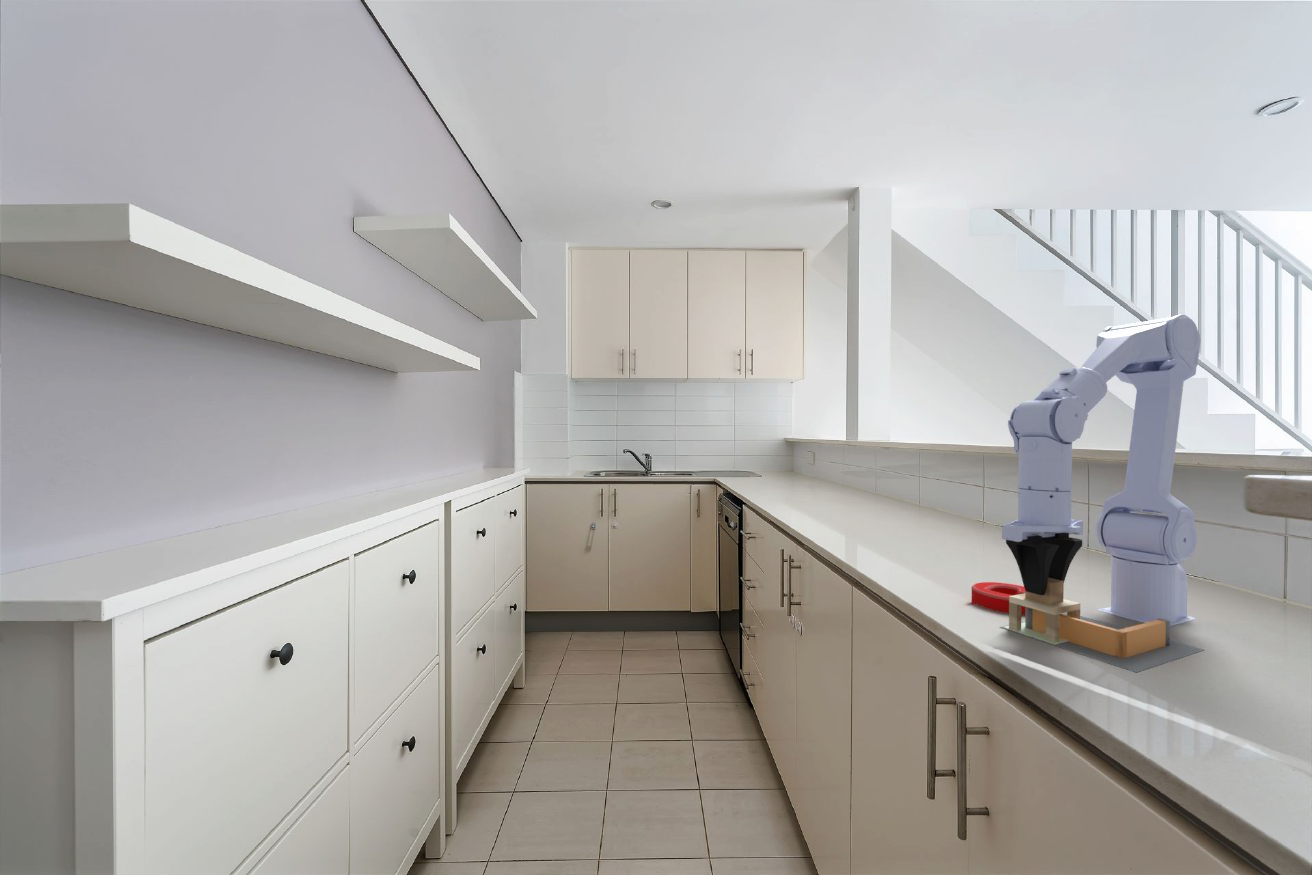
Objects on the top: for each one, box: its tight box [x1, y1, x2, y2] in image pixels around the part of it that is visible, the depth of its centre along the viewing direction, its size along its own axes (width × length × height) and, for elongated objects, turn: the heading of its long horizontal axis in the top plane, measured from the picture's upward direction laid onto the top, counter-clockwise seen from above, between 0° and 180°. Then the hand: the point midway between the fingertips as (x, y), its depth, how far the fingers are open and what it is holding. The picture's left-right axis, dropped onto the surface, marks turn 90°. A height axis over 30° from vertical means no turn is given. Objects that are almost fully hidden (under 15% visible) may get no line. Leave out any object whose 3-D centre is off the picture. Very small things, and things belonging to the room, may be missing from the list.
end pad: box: [1002, 621, 1068, 646], centre depth 70 cm, size 6×6×1 cm
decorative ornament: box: [971, 581, 1026, 616], centre depth 82 cm, size 10×10×3 cm
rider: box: [1008, 578, 1081, 643], centre depth 70 cm, size 6×6×7 cm
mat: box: [999, 612, 1205, 673], centre depth 68 cm, size 16×15×1 cm
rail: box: [1024, 607, 1171, 659], centre depth 69 cm, size 11×11×3 cm
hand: (1042, 591), depth 70 cm, fingers closed on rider, 3 cm apart
